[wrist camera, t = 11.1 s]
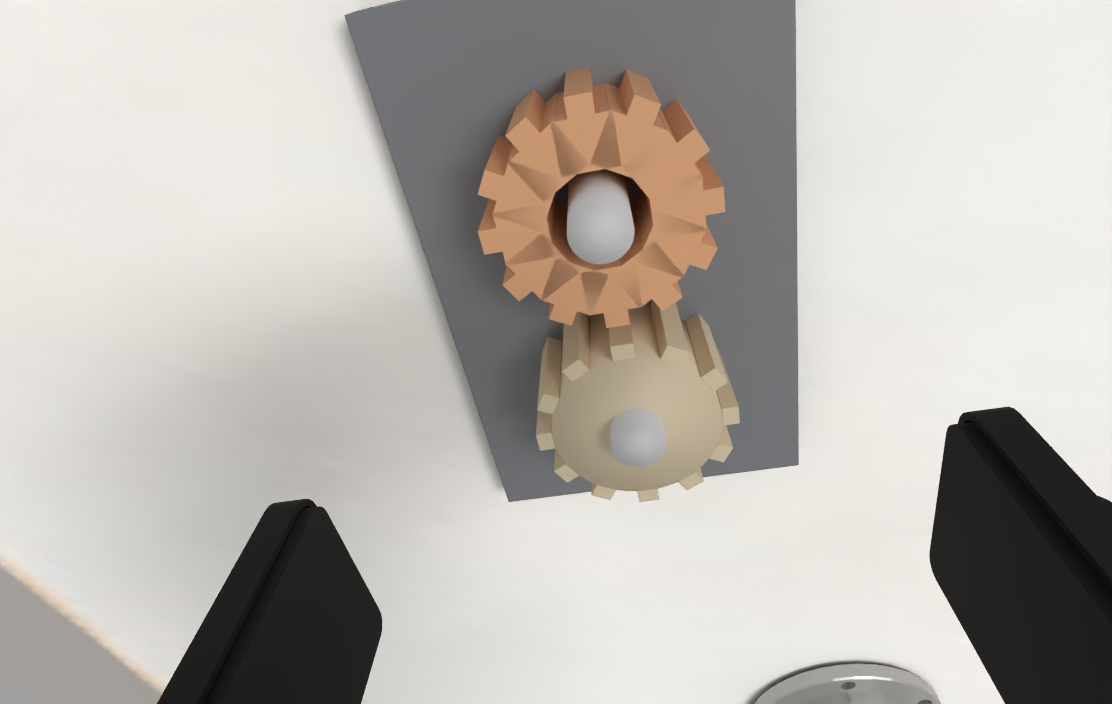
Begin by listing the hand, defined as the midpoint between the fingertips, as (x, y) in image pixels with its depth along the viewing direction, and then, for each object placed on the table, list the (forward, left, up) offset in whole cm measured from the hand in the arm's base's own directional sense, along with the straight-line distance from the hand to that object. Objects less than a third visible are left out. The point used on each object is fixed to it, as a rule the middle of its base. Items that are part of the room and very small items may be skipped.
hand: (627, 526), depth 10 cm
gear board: (-4, 0, -18) cm, 18 cm away
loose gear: (0, 0, -16) cm, 16 cm away
